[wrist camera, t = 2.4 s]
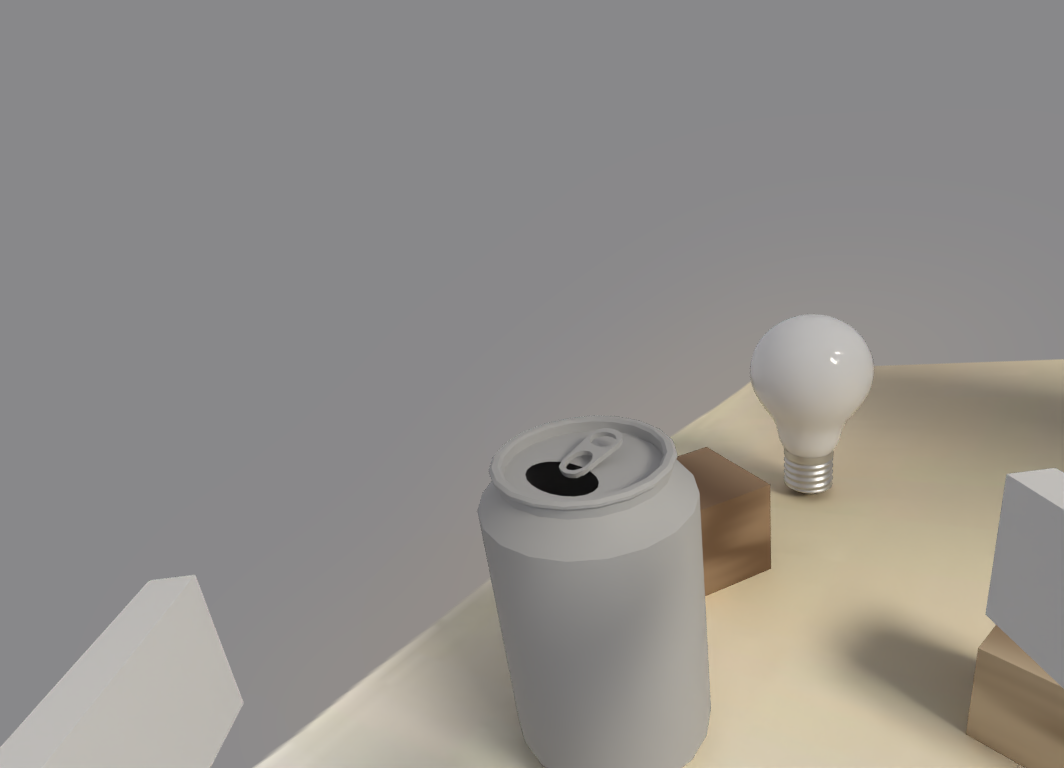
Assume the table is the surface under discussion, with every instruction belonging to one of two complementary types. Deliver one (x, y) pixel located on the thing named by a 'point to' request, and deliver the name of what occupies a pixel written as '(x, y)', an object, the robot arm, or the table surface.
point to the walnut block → (730, 519)
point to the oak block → (1016, 705)
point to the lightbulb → (811, 391)
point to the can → (600, 593)
